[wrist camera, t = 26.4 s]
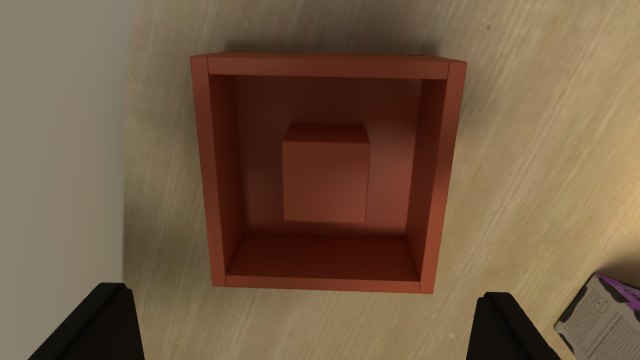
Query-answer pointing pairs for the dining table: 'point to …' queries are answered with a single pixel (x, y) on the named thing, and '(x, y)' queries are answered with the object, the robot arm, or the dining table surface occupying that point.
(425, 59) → the terracotta bin
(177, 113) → the dining table surface
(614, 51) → the dining table surface
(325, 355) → the dining table surface
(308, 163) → the red block
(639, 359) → the candy box
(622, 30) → the dining table surface
